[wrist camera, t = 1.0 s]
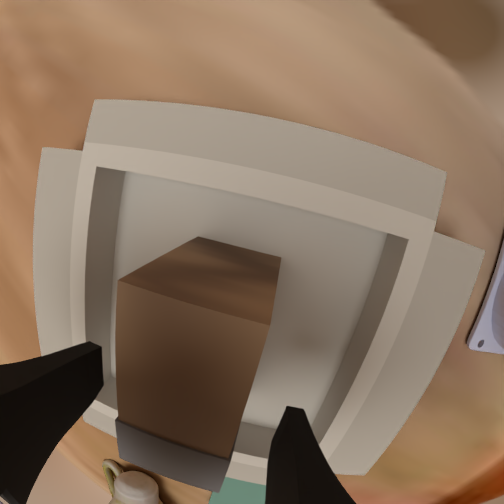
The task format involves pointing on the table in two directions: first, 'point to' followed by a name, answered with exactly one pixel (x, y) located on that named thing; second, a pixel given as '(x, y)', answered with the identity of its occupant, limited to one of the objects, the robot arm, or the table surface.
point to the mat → (239, 493)
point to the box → (190, 356)
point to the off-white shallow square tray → (266, 241)
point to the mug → (130, 486)
